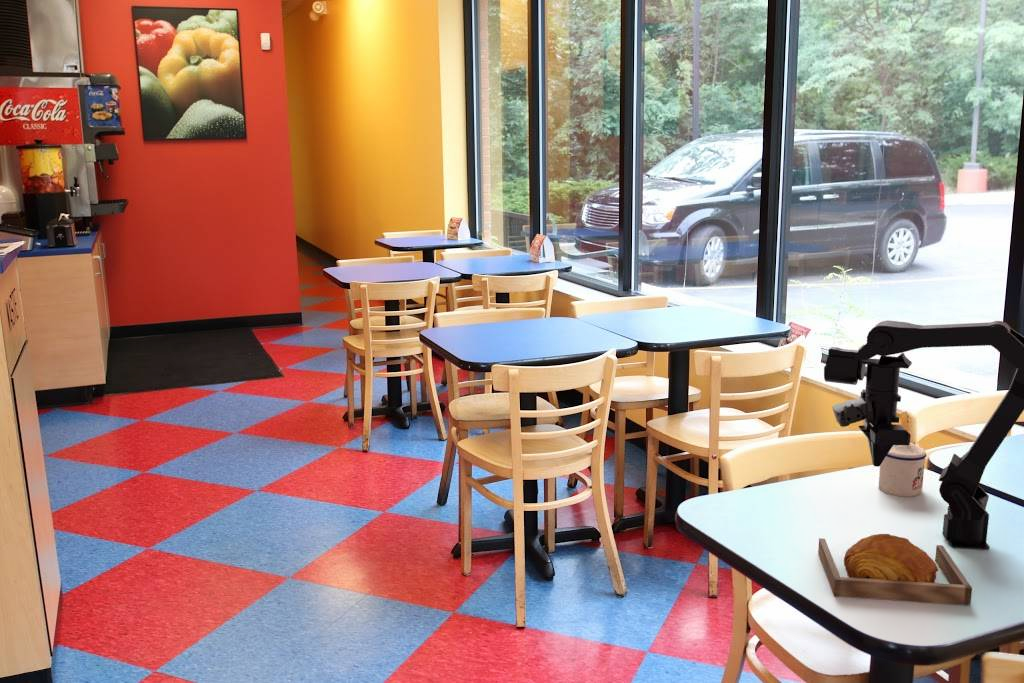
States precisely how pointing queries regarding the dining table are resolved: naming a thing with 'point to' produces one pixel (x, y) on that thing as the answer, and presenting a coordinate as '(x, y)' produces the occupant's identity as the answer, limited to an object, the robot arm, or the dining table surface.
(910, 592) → the walnut u-shaped frame
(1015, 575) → the dining table surface
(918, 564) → the croissant
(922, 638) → the dining table surface
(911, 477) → the teacup with lid
